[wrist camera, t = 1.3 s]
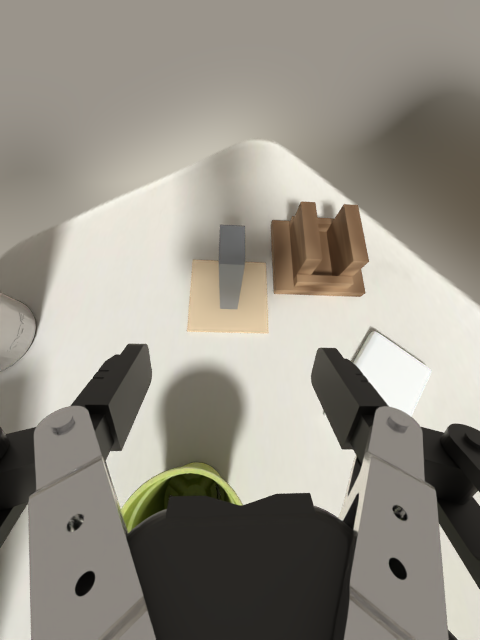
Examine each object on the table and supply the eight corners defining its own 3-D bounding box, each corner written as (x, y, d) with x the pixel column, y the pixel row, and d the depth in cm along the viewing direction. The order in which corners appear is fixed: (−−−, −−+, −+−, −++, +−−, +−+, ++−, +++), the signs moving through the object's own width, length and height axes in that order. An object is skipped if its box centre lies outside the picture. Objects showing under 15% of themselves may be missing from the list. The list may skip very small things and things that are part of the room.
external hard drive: (422, 371, 29) (381, 461, 26) (367, 333, 30) (320, 413, 27) (433, 370, 28) (392, 465, 24) (375, 330, 29) (327, 415, 25)
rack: (273, 293, 31) (286, 269, 25) (270, 226, 34) (280, 190, 28) (360, 296, 31) (392, 274, 25) (348, 230, 35) (374, 196, 29)
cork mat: (187, 331, 28) (187, 330, 28) (193, 260, 31) (192, 259, 31) (267, 333, 29) (268, 332, 28) (265, 263, 32) (265, 262, 32)
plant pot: (143, 454, 24) (102, 486, 16) (232, 434, 25) (237, 454, 17) (149, 567, 21) (103, 678, 13) (249, 539, 22) (265, 624, 14)
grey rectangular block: (220, 308, 29) (218, 263, 19) (220, 280, 30) (220, 224, 20) (237, 309, 29) (244, 265, 19) (237, 281, 30) (244, 225, 20)
